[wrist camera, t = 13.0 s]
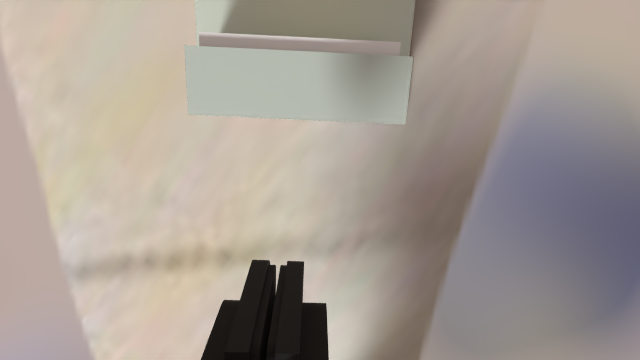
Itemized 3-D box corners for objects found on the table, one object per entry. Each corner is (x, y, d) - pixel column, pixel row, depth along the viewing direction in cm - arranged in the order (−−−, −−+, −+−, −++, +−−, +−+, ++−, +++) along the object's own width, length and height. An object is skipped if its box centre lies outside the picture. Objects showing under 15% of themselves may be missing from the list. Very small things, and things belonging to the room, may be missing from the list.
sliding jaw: (387, 111, 22) (405, 124, 17) (215, 103, 22) (188, 114, 17) (393, 46, 21) (414, 42, 16) (213, 37, 21) (183, 30, 16)
